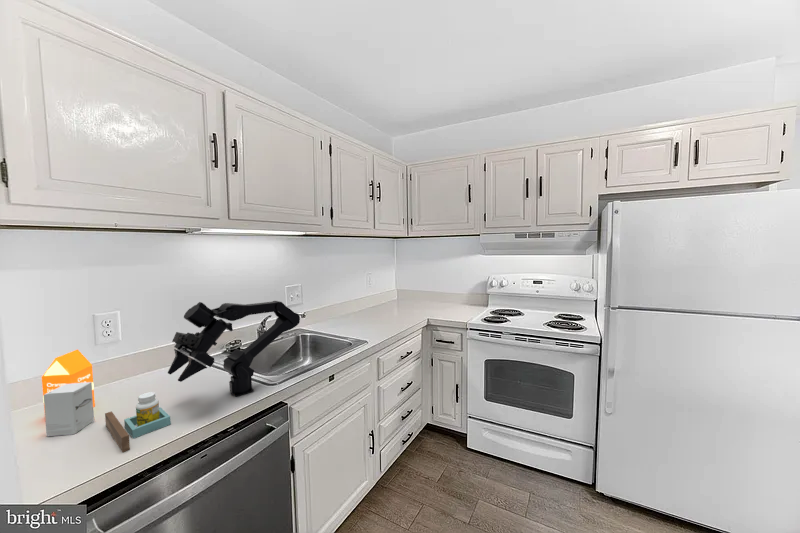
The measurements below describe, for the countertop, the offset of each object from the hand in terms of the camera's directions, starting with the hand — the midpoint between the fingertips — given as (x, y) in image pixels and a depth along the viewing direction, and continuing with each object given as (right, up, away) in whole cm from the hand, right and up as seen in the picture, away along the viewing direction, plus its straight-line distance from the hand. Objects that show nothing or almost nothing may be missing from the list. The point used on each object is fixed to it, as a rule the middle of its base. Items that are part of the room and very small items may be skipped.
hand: (173, 377), depth 100 cm
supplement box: (-26, -13, -6) cm, 30 cm away
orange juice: (-35, -13, +2) cm, 37 cm away
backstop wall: (-9, -13, -10) cm, 19 cm away
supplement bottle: (-4, -13, -5) cm, 15 cm away
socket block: (-4, -13, -5) cm, 14 cm away
